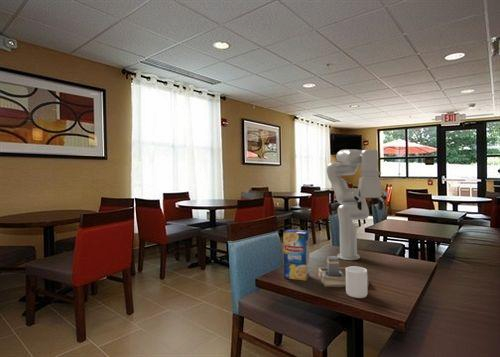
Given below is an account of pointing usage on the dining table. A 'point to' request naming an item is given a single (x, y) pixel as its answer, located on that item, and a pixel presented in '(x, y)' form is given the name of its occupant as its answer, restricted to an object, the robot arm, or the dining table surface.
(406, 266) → the dining table surface
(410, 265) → the dining table surface
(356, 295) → the mug
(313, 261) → the dining table surface
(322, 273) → the box
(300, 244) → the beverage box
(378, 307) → the dining table surface
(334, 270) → the block
